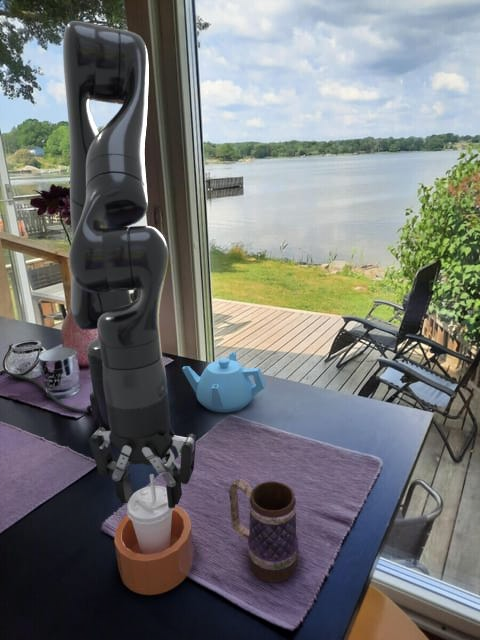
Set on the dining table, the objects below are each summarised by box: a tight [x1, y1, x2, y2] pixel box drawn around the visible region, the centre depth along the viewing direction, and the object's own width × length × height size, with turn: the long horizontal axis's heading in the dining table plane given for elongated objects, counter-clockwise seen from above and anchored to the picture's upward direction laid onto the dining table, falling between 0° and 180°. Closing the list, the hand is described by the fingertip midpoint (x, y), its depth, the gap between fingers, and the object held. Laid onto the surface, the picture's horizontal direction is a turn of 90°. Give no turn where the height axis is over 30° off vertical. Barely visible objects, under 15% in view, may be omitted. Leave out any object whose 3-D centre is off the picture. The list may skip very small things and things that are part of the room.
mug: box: [228, 478, 299, 583], centre depth 61 cm, size 10×7×12 cm
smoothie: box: [126, 473, 174, 555], centre depth 61 cm, size 6×6×14 cm
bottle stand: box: [113, 504, 194, 596], centre depth 62 cm, size 10×10×6 cm
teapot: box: [181, 351, 266, 413], centre depth 105 cm, size 15×15×11 cm
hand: (149, 501), depth 60 cm, fingers closed on smoothie, 6 cm apart
